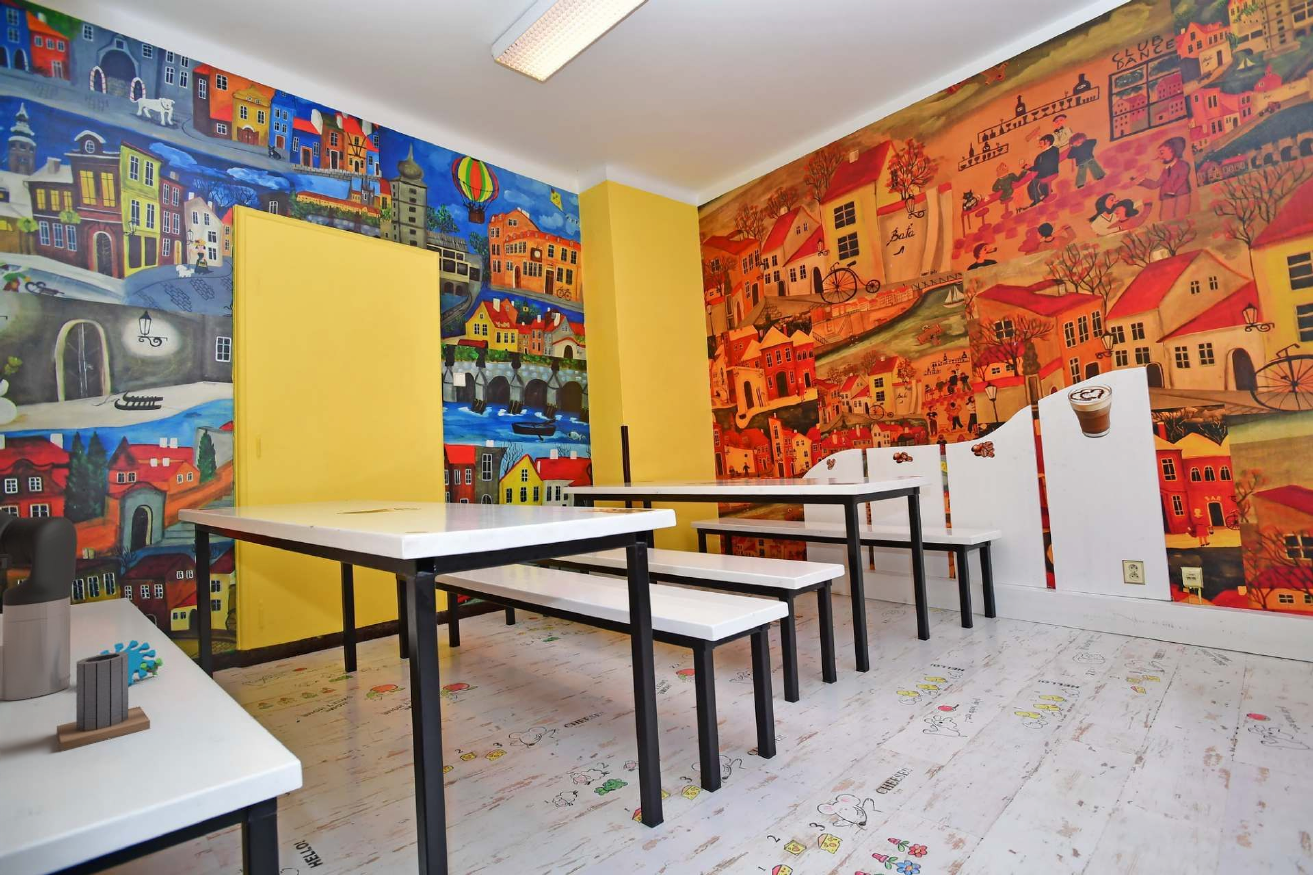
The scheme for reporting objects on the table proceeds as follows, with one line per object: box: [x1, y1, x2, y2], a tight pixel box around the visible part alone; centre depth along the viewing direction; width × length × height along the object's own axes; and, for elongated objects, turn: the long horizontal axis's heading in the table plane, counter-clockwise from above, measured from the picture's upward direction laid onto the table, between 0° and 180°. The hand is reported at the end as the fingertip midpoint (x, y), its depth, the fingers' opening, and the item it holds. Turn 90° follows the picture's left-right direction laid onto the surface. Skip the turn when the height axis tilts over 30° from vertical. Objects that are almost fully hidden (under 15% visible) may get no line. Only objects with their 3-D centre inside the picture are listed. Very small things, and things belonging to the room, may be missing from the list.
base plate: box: [56, 706, 151, 752], centre depth 97 cm, size 10×10×1 cm
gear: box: [99, 639, 164, 687], centre depth 123 cm, size 11×6×10 cm
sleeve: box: [75, 651, 129, 732], centre depth 97 cm, size 6×6×10 cm
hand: (5, 560), depth 90 cm, fingers open, 8 cm apart
